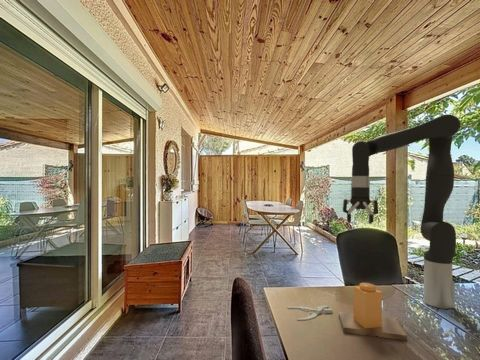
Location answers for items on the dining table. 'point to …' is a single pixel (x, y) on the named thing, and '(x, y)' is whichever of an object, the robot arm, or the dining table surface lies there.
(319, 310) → the pliers
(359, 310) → the orange toy brick
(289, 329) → the dining table surface
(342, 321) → the board
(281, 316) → the dining table surface
